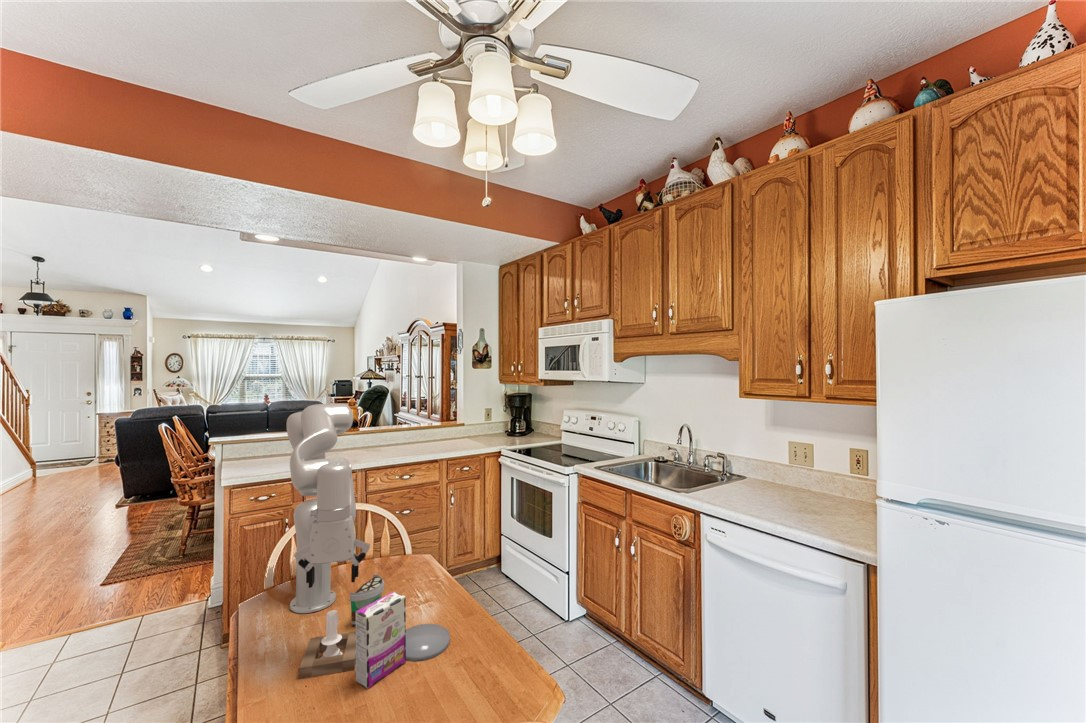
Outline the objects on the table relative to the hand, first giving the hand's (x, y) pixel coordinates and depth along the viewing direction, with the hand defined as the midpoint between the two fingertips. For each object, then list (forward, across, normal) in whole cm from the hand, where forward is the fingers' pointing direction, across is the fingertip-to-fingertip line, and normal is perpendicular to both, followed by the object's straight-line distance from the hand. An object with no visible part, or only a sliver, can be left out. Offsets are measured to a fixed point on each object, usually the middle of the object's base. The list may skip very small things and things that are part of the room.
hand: (332, 582), depth 111 cm
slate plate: (+19, +22, +1) cm, 29 cm away
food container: (+19, +8, +17) cm, 27 cm away
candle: (+19, 0, +1) cm, 19 cm away
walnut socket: (+19, 0, +1) cm, 19 cm away
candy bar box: (+20, +12, -8) cm, 24 cm away
